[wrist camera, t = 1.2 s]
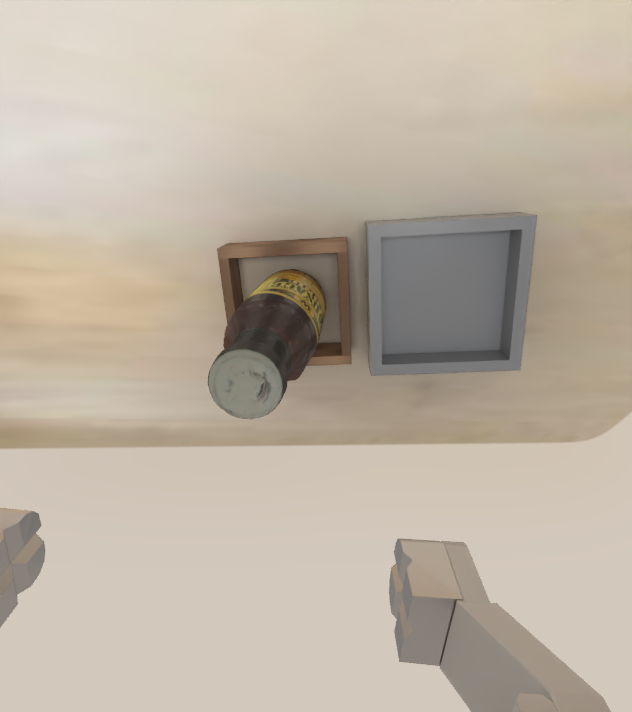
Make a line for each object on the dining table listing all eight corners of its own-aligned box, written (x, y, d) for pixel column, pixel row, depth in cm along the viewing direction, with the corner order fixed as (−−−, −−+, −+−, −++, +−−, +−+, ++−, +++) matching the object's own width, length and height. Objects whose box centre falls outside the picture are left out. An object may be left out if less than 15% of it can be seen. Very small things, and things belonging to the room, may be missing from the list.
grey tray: (520, 212, 38) (537, 215, 35) (506, 355, 43) (520, 370, 40) (365, 221, 39) (367, 225, 36) (368, 361, 44) (370, 375, 40)
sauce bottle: (339, 302, 42) (340, 399, 23) (290, 344, 44) (255, 466, 25) (291, 249, 40) (250, 307, 22) (242, 295, 42) (166, 385, 23)
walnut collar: (346, 236, 40) (346, 241, 36) (350, 350, 43) (351, 364, 40) (227, 243, 40) (217, 249, 37) (241, 354, 44) (233, 368, 41)
